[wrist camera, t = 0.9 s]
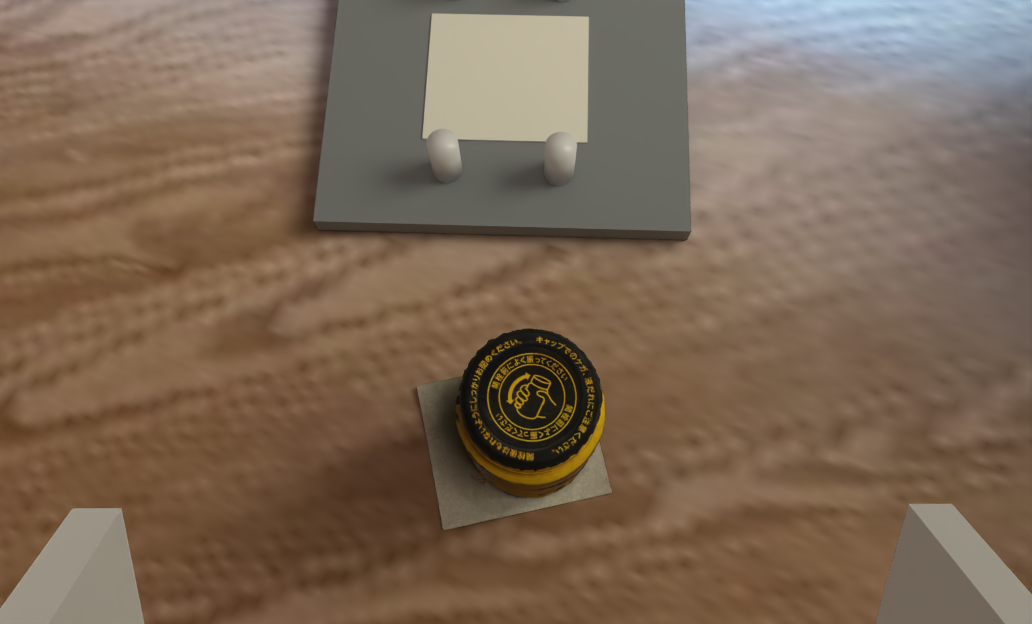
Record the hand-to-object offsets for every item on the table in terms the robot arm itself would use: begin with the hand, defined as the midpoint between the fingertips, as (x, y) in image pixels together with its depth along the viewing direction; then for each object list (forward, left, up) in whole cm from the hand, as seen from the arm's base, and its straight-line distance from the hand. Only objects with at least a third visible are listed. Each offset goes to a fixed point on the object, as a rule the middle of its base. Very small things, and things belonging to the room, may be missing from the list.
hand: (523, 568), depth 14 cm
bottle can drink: (+1, -6, -27) cm, 27 cm away
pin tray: (+2, -26, -26) cm, 37 cm away
